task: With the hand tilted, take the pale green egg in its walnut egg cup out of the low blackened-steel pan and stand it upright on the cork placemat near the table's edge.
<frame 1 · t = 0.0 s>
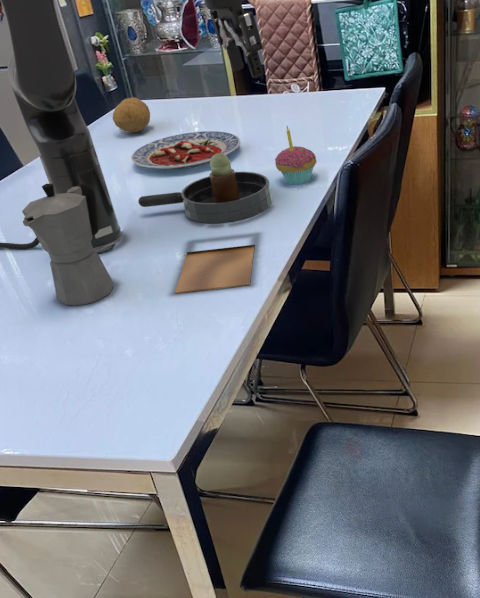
hand: (248, 73, 131), 22 cm above the table, tool pointing down, fingers open, 8 cm apart
coffeepot: (90, 290, 118), on the table
potato: (136, 131, 192), on the table
placemat: (218, 262, 121), on the table
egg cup: (228, 205, 139), point 1 cm above the table, touching pan
pan: (229, 209, 140), on the table
cupcake: (298, 183, 148), on the table
ceramic plate: (188, 158, 169), on the table
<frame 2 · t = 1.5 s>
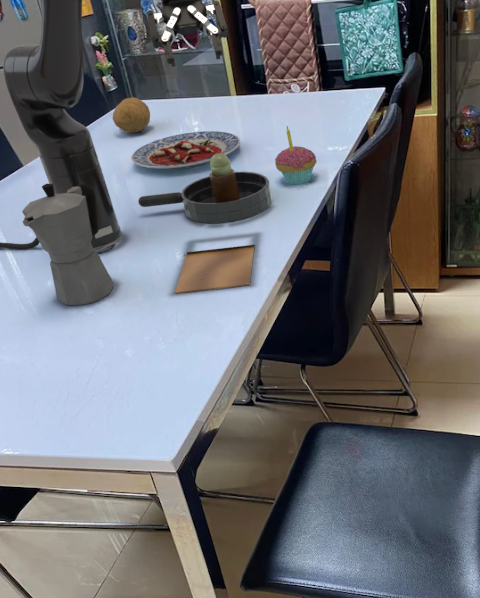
hand: (195, 60, 133), 25 cm above the table, tool tilted 45°, fingers open, 8 cm apart
nothing on the table moved.
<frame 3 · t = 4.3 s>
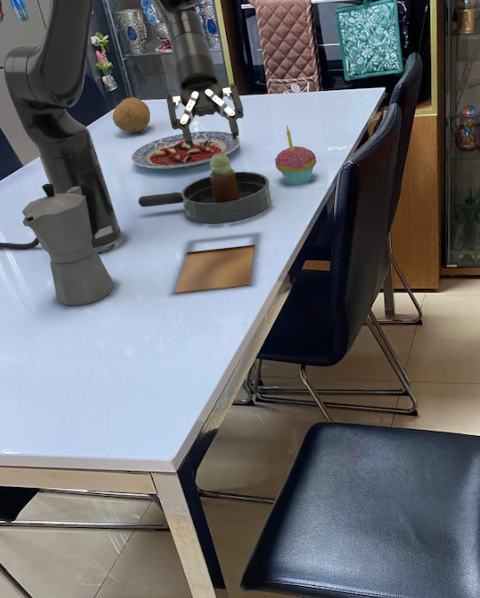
hand: (213, 141, 138), 11 cm above the table, tool tilted 45°, fingers open, 8 cm apart
nothing on the table moved.
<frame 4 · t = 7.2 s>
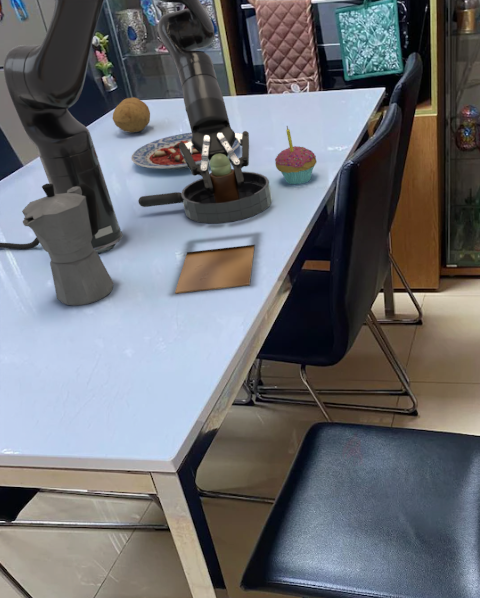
hand: (226, 188, 135), 5 cm above the table, tool tilted 45°, fingers closed on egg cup, 4 cm apart
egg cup: (228, 205, 139), point 1 cm above the table, touching gripper, pan
everything else where it was.
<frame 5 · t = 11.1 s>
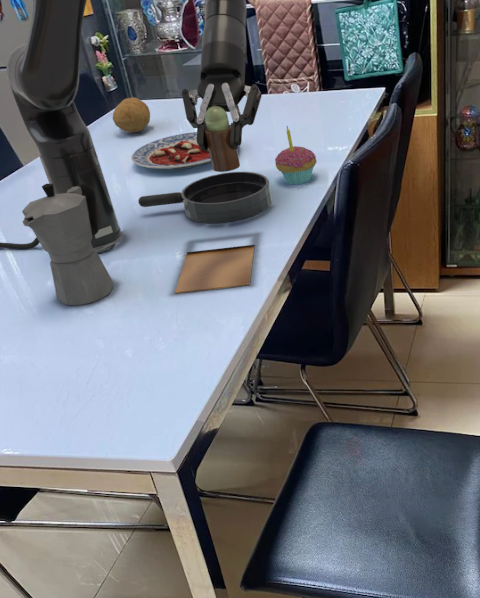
hand: (218, 147, 120), 16 cm above the table, tool tilted 45°, fingers closed on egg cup, 4 cm apart
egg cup: (226, 167, 124), point 12 cm above the table, touching gripper
everything else where it was.
when the fingers open (4 cm above the table, at t = 15.5 s): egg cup stays where it is, resting on placemat.
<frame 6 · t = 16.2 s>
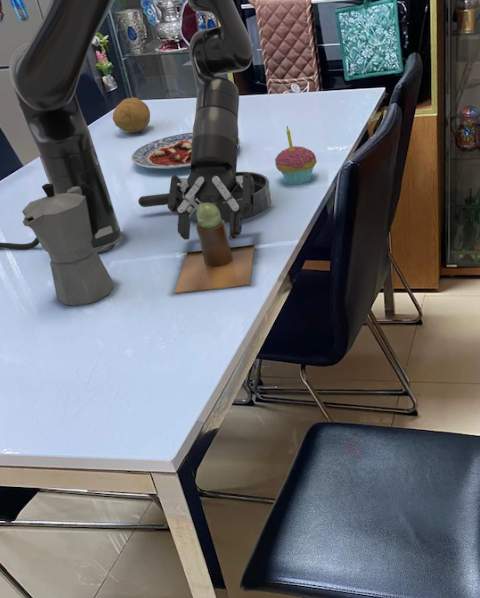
hand: (209, 237, 117), 5 cm above the table, tool tilted 45°, fingers open, 8 cm apart
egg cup: (218, 260, 121), resting on placemat
everything else where it was.
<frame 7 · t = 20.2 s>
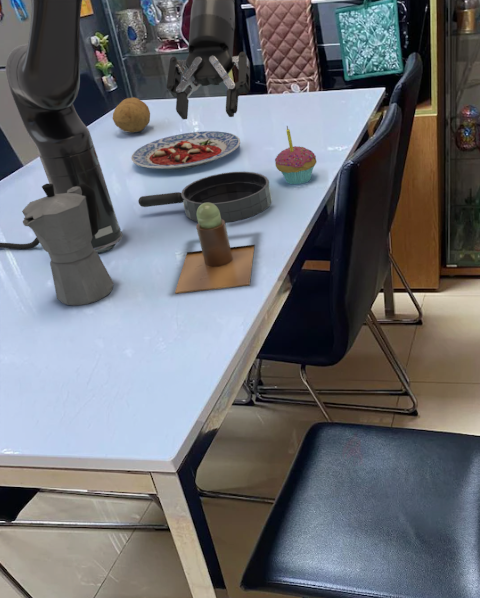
hand: (206, 115, 121), 20 cm above the table, tool tilted 45°, fingers open, 8 cm apart
nothing on the table moved.
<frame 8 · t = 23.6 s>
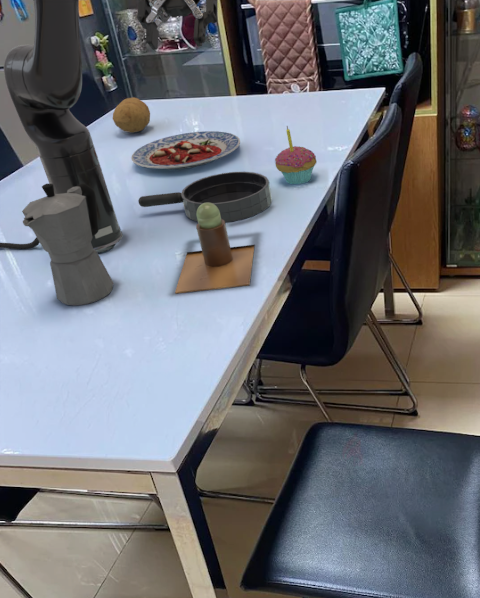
hand: (175, 45, 125), 29 cm above the table, tool tilted 45°, fingers open, 8 cm apart
nothing on the table moved.
at the end: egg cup inside the target area on the placemat (0.1 cm from its centre), point 0.3 cm above the placemat's base; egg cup tilted 0°; the gripper is holding nothing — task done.
